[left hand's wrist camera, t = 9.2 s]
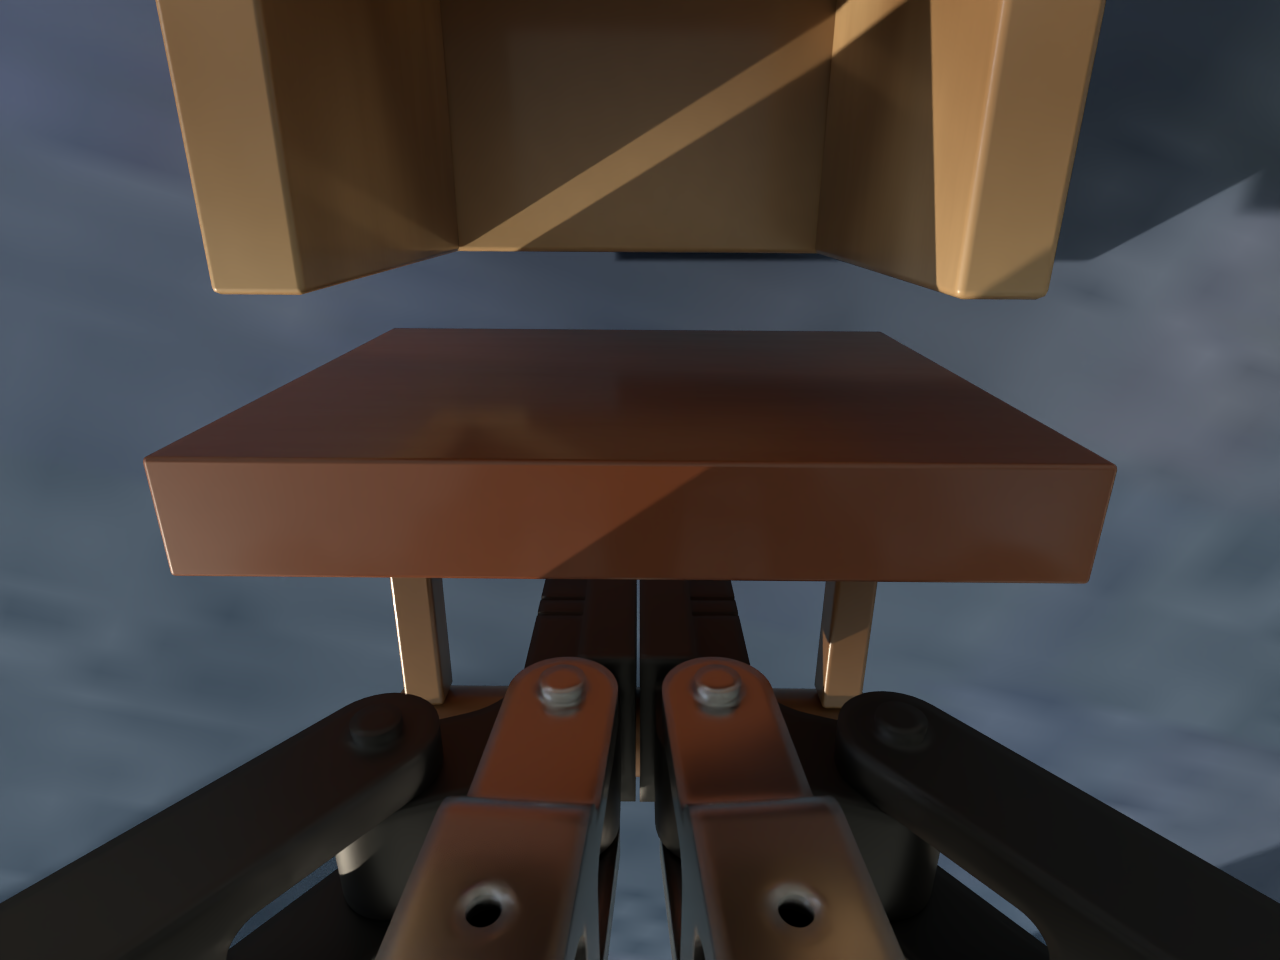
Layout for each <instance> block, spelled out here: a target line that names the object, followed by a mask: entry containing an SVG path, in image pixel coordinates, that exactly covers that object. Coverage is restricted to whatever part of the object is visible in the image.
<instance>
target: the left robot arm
mask: <svg viewBox="0 0 1280 960" xmlns="http://www.w3.org/2000/svg"><path fill="white" fill-rule="evenodd" d="M636 668H637V580H627V579H546V580H545V584H544V588H543V593H542V600H541V601H540V605H539V609H538V616H537V618H536V622H535V626H534V630H533V634H532V639H531V643H530V647H529V651H528V655H527V659H526V664H525V668H524V669H523V670H522V671H521V672H519V673H518V674H517V675H516V676H515V677H514V679H513V680H512V681H511V683H510V685H509V687H508V689H507V692H506V694H505V697H504V698H502V699H500V700H499V701H497V702H495V703H493V704H491V705H489V706H487V707H485V708H482V709H479V710H476V711H473V712H469V713H465V714H460V715H456V716H452V717H447V718H443V719H439V715H438V713H437V710H436V709H435V707H434V706H433V705H432V704H431V703H430V702H428V701H427V700H425V699H423V698H421V697H419V696H416V695H412V694H406V693H385V694H379V695H374V696H370V697H367V698H363V699H361V700H358V701H355V702H353V703H351V704H349V705H347V706H345V707H343V708H342V709H340V710H338V711H336V712H335V713H333V714H331V715H329V716H328V717H326V718H324V719H322V720H321V721H319V722H317V723H315V724H314V725H312V726H310V727H308V728H307V729H305V730H303V731H301V732H300V733H298V734H296V735H294V736H293V737H291V738H289V739H287V740H286V741H284V742H282V743H280V744H279V745H277V746H275V747H273V748H272V749H270V750H268V751H266V752H265V753H263V754H261V755H259V756H258V757H256V758H254V759H252V760H251V761H249V762H247V763H245V764H244V765H242V766H240V767H238V768H237V769H235V770H233V771H231V772H230V773H228V774H226V775H224V776H223V777H221V778H219V779H217V780H216V781H214V782H212V783H210V784H209V785H207V786H205V787H203V788H202V789H200V790H198V791H196V792H195V793H193V794H191V795H189V796H188V797H186V798H184V799H182V800H181V801H179V802H177V803H175V804H174V805H172V806H170V807H168V808H167V809H165V810H163V811H161V812H160V813H158V814H156V815H154V816H153V817H151V818H149V819H147V820H146V821H144V822H142V823H140V824H139V825H137V826H135V827H133V828H132V829H130V830H128V831H126V832H125V833H123V834H121V835H119V836H118V837H116V838H114V839H112V840H111V841H109V842H107V843H105V844H104V845H102V846H100V847H98V848H97V849H95V850H93V851H91V852H90V853H88V854H86V855H84V856H83V857H81V858H79V859H77V860H76V861H74V862H72V863H70V864H69V865H67V866H65V867H63V868H62V869H60V870H58V871H56V872H55V873H53V874H51V875H49V876H48V877H46V878H44V879H42V880H41V881H39V882H37V883H35V884H34V885H32V886H30V887H28V888H27V889H25V890H23V891H21V892H20V893H18V894H16V895H14V896H13V897H11V898H9V899H7V900H6V901H4V902H2V903H0V960H608V953H609V944H610V936H611V928H612V919H613V911H614V902H615V894H616V885H617V877H618V869H619V860H620V801H635V798H636ZM640 802H655V825H656V830H657V833H658V836H659V838H660V860H661V869H662V877H663V886H664V894H665V902H666V911H667V919H668V928H669V936H670V944H671V953H672V960H1280V903H1278V902H1276V901H1274V900H1273V899H1271V898H1269V897H1267V896H1266V895H1264V894H1262V893H1260V892H1259V891H1257V890H1255V889H1253V888H1252V887H1250V886H1248V885H1246V884H1245V883H1243V882H1241V881H1239V880H1238V879H1236V878H1234V877H1232V876H1231V875H1229V874H1227V873H1225V872H1224V871H1222V870H1220V869H1218V868H1217V867H1215V866H1213V865H1211V864H1210V863H1208V862H1206V861H1204V860H1203V859H1201V858H1199V857H1197V856H1196V855H1194V854H1192V853H1190V852H1189V851H1187V850H1185V849H1183V848H1182V847H1180V846H1178V845H1176V844H1175V843H1173V842H1171V841H1169V840H1168V839H1166V838H1164V837H1162V836H1161V835H1159V834H1157V833H1155V832H1154V831H1152V830H1150V829H1148V828H1147V827H1145V826H1143V825H1141V824H1140V823H1138V822H1136V821H1134V820H1133V819H1131V818H1129V817H1127V816H1126V815H1124V814H1122V813H1120V812H1119V811H1117V810H1115V809H1113V808H1112V807H1110V806H1108V805H1106V804H1105V803H1103V802H1101V801H1099V800H1098V799H1096V798H1094V797H1092V796H1091V795H1089V794H1087V793H1085V792H1084V791H1082V790H1080V789H1078V788H1077V787H1075V786H1073V785H1071V784H1070V783H1068V782H1066V781H1064V780H1063V779H1061V778H1059V777H1057V776H1056V775H1054V774H1052V773H1050V772H1049V771H1047V770H1045V769H1043V768H1042V767H1040V766H1038V765H1036V764H1035V763H1033V762H1031V761H1029V760H1028V759H1026V758H1024V757H1022V756H1021V755H1019V754H1017V753H1015V752H1014V751H1012V750H1010V749H1008V748H1007V747H1005V746H1003V745H1001V744H1000V743H998V742H996V741H994V740H993V739H991V738H989V737H987V736H986V735H984V734H982V733H980V732H979V731H977V730H975V729H973V728H972V727H970V726H968V725H966V724H965V723H963V722H961V721H959V720H958V719H956V718H954V717H952V716H951V715H949V714H947V713H945V712H944V711H942V710H940V709H938V708H937V707H935V706H933V705H931V704H929V703H927V702H925V701H923V700H921V699H918V698H916V697H913V696H909V695H906V694H901V693H896V692H886V691H877V692H868V693H863V694H860V695H857V696H855V697H853V698H851V699H849V700H848V701H847V702H846V703H845V704H844V705H843V706H842V708H841V709H840V712H839V714H838V720H835V719H831V718H826V717H822V716H818V715H813V714H809V713H805V712H801V711H798V710H795V709H792V708H789V707H787V706H785V705H783V704H781V703H779V702H777V700H776V697H775V694H774V692H773V689H772V687H771V685H770V683H769V681H768V680H767V679H766V677H765V676H764V675H763V674H762V673H761V672H759V671H758V670H757V669H755V668H753V667H752V666H750V663H749V658H748V654H747V650H746V645H745V641H744V636H743V632H742V628H741V623H740V619H739V616H738V610H737V606H736V602H735V600H734V593H733V588H732V584H731V580H640ZM940 852H941V853H942V854H943V855H945V856H946V857H948V858H949V859H950V860H952V861H953V862H954V863H956V864H957V865H959V866H960V867H961V868H963V869H964V870H965V871H967V872H968V873H970V874H971V875H972V876H974V877H975V878H976V879H978V880H979V881H981V882H982V883H983V884H985V885H986V886H987V887H989V888H990V889H992V890H993V891H994V892H996V893H997V894H998V895H1000V896H1001V897H1003V898H1004V899H1005V900H1007V901H1008V902H1009V903H1011V904H1012V905H1014V906H1015V907H1016V908H1018V909H1019V910H1020V911H1021V912H1023V913H1024V914H1025V915H1026V916H1027V917H1028V918H1029V919H1030V920H1031V921H1032V922H1033V923H1034V925H1035V926H1036V927H1037V928H1038V930H1039V931H1040V933H1041V934H1042V936H1043V938H1044V940H1045V942H1046V944H1047V946H1046V945H1044V944H1043V943H1042V942H1040V941H1039V940H1038V939H1036V938H1035V937H1034V936H1032V935H1031V934H1030V933H1028V932H1027V931H1026V930H1024V929H1023V928H1022V927H1020V926H1019V925H1017V924H1016V923H1015V922H1013V921H1012V920H1011V919H1009V918H1008V917H1007V916H1005V915H1004V914H1003V913H1001V912H1000V911H999V910H997V909H996V908H995V907H993V906H992V905H991V904H989V903H988V902H987V901H985V900H984V899H982V898H981V897H980V896H978V895H977V894H976V893H974V892H973V891H972V890H970V889H969V888H968V887H966V886H965V885H964V884H962V883H961V882H960V881H958V880H957V879H956V878H954V877H953V876H952V875H950V874H949V873H947V872H946V871H945V870H943V869H942V868H941V867H939V866H938V865H937V863H938V859H939V854H940ZM334 856H336V861H337V866H338V869H337V870H335V871H334V872H333V873H331V874H330V875H328V876H327V877H326V878H324V879H323V880H322V881H320V882H319V883H318V884H316V885H315V886H314V887H312V888H311V889H310V890H308V891H307V892H306V893H304V894H303V895H302V896H300V897H299V898H298V899H296V900H295V901H293V902H292V903H291V904H289V905H288V906H287V907H285V908H284V909H283V910H281V911H280V912H279V913H277V914H276V915H275V916H273V917H272V918H271V919H269V920H268V921H267V922H265V923H264V924H262V925H261V926H260V927H258V928H257V929H256V930H254V931H253V932H252V933H250V934H249V935H248V936H246V937H245V938H244V939H242V940H241V941H240V942H238V943H237V944H236V945H234V946H233V947H232V948H230V949H229V947H230V945H231V942H232V941H233V939H234V937H235V935H236V934H237V933H238V931H239V930H240V929H241V927H242V926H243V925H244V924H245V923H246V922H247V921H248V920H249V919H250V918H251V917H252V916H253V915H254V914H256V913H257V912H258V911H260V910H261V909H262V908H264V907H265V906H266V905H268V904H269V903H271V902H272V901H273V900H275V899H276V898H277V897H279V896H280V895H282V894H283V893H284V892H286V891H287V890H288V889H290V888H291V887H293V886H294V885H295V884H297V883H298V882H299V881H301V880H302V879H304V878H305V877H306V876H308V875H309V874H310V873H312V872H313V871H315V870H316V869H317V868H319V867H320V866H321V865H323V864H324V863H326V862H327V861H328V860H330V859H331V858H332V857H334ZM228 949H229V950H228Z"/></svg>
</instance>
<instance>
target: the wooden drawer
mask: <svg viewBox="0 0 1280 960" xmlns="http://www.w3.org/2000/svg"><path fill="white" fill-rule="evenodd" d="M1105 3H1106V0H156V5H157V10H158V15H159V20H160V25H161V30H162V35H163V40H164V45H165V50H166V55H167V60H168V66H169V71H170V76H171V81H172V86H173V91H174V96H175V101H176V106H177V111H178V116H179V121H180V126H181V131H182V137H183V142H184V147H185V152H186V157H187V162H188V167H189V172H190V177H191V182H192V187H193V192H194V197H195V202H196V208H197V213H198V218H199V223H200V228H201V233H202V238H203V243H204V248H205V253H206V258H207V263H208V268H209V273H210V279H211V284H212V288H213V290H214V291H215V292H217V293H220V294H273V295H301V294H305V293H309V292H312V291H316V290H319V289H323V288H326V287H330V286H334V285H337V284H341V283H344V282H348V281H352V280H355V279H359V278H362V277H366V276H370V275H373V274H377V273H380V272H384V271H387V270H391V269H395V268H398V267H402V266H405V265H409V264H413V263H416V262H420V261H423V260H427V259H431V258H434V257H438V256H441V255H445V254H448V253H452V252H456V251H541V252H688V253H819V254H821V255H825V256H828V257H831V258H834V259H837V260H840V261H843V262H847V263H850V264H853V265H856V266H859V267H862V268H865V269H869V270H872V271H875V272H878V273H881V274H884V275H888V276H891V277H894V278H897V279H900V280H903V281H906V282H910V283H913V284H916V285H919V286H922V287H925V288H928V289H932V290H935V291H938V292H941V293H944V294H947V295H950V296H954V297H957V298H960V299H1031V300H1036V299H1038V298H1041V297H1044V296H1045V295H1046V293H1047V291H1048V288H1049V283H1050V278H1051V273H1052V268H1053V263H1054V258H1055V253H1056V248H1057V243H1058V238H1059V233H1060V228H1061V223H1062V218H1063V213H1064V208H1065V203H1066V198H1067V193H1068V188H1069V183H1070V178H1071V173H1072V168H1073V163H1074V158H1075V153H1076V148H1077V143H1078V138H1079V133H1080V128H1081V123H1082V118H1083V113H1084V108H1085V103H1086V98H1087V93H1088V88H1089V83H1090V78H1091V73H1092V68H1093V63H1094V58H1095V53H1096V48H1097V43H1098V38H1099V33H1100V28H1101V23H1102V18H1103V13H1104V8H1105ZM143 463H144V467H145V471H146V475H147V479H148V483H149V487H150V491H151V495H152V499H153V503H154V507H155V511H156V515H157V519H158V523H159V527H160V531H161V535H162V539H163V543H164V547H165V551H166V555H167V559H168V563H169V567H170V571H171V573H172V574H173V575H175V576H281V577H390V583H391V591H392V598H393V606H394V614H395V621H396V629H397V636H398V644H399V652H400V659H401V667H402V675H403V682H404V689H403V690H402V692H401V693H406V694H412V695H416V696H419V697H421V698H423V699H425V700H427V701H428V702H430V703H431V704H432V705H433V706H434V707H435V709H436V710H437V713H438V715H439V719H443V718H447V717H452V716H456V715H460V714H465V713H469V712H473V711H476V710H479V709H482V708H485V707H487V706H489V705H491V704H493V703H495V702H497V701H499V700H500V699H502V698H504V697H505V694H506V692H507V689H508V687H509V686H462V685H451V684H452V672H451V662H450V652H449V643H448V633H447V623H446V613H445V604H444V594H443V584H442V578H511V579H627V580H742V581H826V585H825V594H824V603H823V612H822V622H821V631H820V640H819V649H818V658H817V667H816V676H815V687H816V689H785V688H772V689H773V692H774V694H775V697H776V700H777V702H779V703H781V704H783V705H785V706H787V707H789V708H792V709H795V710H798V711H801V712H805V713H809V714H813V715H818V716H822V717H826V718H831V719H835V720H838V714H839V712H840V709H841V708H842V706H843V705H844V704H845V703H846V702H847V701H848V700H849V699H851V698H853V697H855V696H857V695H860V694H863V692H862V690H863V683H864V675H865V668H866V661H867V654H868V646H869V639H870V632H871V625H872V617H873V610H874V603H875V596H876V588H877V582H972V583H1087V582H1088V581H1089V578H1090V574H1091V571H1092V567H1093V563H1094V559H1095V555H1096V551H1097V547H1098V543H1099V539H1100V535H1101V531H1102V527H1103V523H1104V519H1105V516H1106V512H1107V508H1108V504H1109V500H1110V496H1111V492H1112V488H1113V484H1114V480H1115V476H1116V472H1117V466H1116V465H1115V464H1113V463H1111V462H1110V461H1108V460H1106V459H1104V458H1102V457H1101V456H1099V455H1097V454H1095V453H1094V452H1092V451H1090V450H1088V449H1087V448H1085V447H1083V446H1081V445H1080V444H1078V443H1076V442H1074V441H1072V440H1071V439H1069V438H1067V437H1065V436H1064V435H1062V434H1060V433H1058V432H1057V431H1055V430H1053V429H1051V428H1050V427H1048V426H1046V425H1044V424H1042V423H1041V422H1039V421H1037V420H1035V419H1034V418H1032V417H1030V416H1028V415H1027V414H1025V413H1023V412H1021V411H1019V410H1018V409H1016V408H1014V407H1012V406H1011V405H1009V404H1007V403H1005V402H1004V401H1002V400H1000V399H998V398H997V397H995V396H993V395H991V394H989V393H988V392H986V391H984V390H982V389H981V388H979V387H977V386H975V385H974V384H972V383H970V382H968V381H967V380H965V379H963V378H961V377H959V376H958V375H956V374H954V373H952V372H951V371H949V370H947V369H945V368H944V367H942V366H940V365H938V364H937V363H935V362H933V361H931V360H929V359H928V358H926V357H924V356H922V355H921V354H919V353H917V352H915V351H914V350H912V349H910V348H908V347H906V346H905V345H903V344H901V343H899V342H898V341H896V340H894V339H892V338H891V337H889V336H887V335H885V334H884V333H882V332H844V331H706V330H568V329H431V328H394V329H392V330H390V331H388V332H386V333H384V334H382V335H380V336H378V337H377V338H375V339H373V340H371V341H369V342H367V343H365V344H363V345H361V346H359V347H357V348H355V349H353V350H351V351H349V352H347V353H346V354H344V355H342V356H340V357H338V358H336V359H334V360H332V361H330V362H328V363H326V364H324V365H322V366H320V367H318V368H317V369H315V370H313V371H311V372H309V373H307V374H305V375H303V376H301V377H299V378H297V379H295V380H293V381H291V382H289V383H287V384H286V385H284V386H282V387H280V388H278V389H276V390H274V391H272V392H270V393H268V394H266V395H264V396H262V397H260V398H258V399H257V400H255V401H253V402H251V403H249V404H247V405H245V406H243V407H241V408H239V409H237V410H235V411H233V412H231V413H229V414H227V415H226V416H224V417H222V418H220V419H218V420H216V421H214V422H212V423H210V424H208V425H206V426H204V427H202V428H200V429H198V430H197V431H195V432H193V433H191V434H189V435H187V436H185V437H183V438H181V439H179V440H177V441H175V442H173V443H171V444H169V445H167V446H166V447H164V448H162V449H160V450H158V451H156V452H154V453H152V454H150V455H148V456H146V457H145V458H144V461H143ZM636 777H640V687H636Z"/></svg>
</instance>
